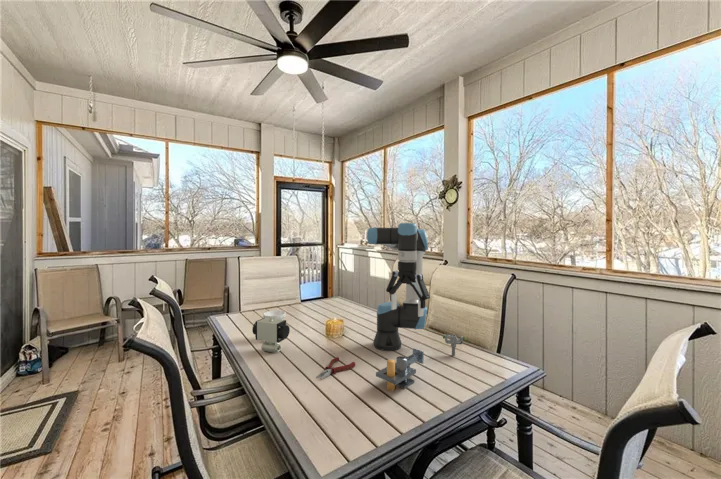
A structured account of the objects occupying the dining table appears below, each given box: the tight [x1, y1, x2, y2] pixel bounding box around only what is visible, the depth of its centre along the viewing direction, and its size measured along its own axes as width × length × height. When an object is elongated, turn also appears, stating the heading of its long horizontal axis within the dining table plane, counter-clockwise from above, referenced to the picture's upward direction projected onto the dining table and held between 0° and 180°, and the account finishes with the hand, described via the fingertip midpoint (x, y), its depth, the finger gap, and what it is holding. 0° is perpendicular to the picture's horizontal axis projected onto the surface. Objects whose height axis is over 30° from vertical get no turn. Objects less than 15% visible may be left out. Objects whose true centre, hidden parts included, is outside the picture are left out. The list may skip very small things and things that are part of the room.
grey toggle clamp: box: [375, 348, 425, 390], centre depth 129 cm, size 10×23×10 cm, turn 136°
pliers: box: [315, 356, 356, 380], centre depth 139 cm, size 12×20×3 cm, turn 147°
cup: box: [262, 309, 287, 320], centre depth 178 cm, size 12×12×15 cm
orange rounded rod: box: [386, 359, 396, 392], centre depth 123 cm, size 3×3×11 cm
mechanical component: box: [442, 333, 465, 357], centre depth 156 cm, size 3×10×10 cm, turn 78°
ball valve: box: [252, 317, 291, 353], centre depth 161 cm, size 18×8×18 cm, turn 71°
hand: (406, 312), depth 127 cm, fingers open, 13 cm apart
